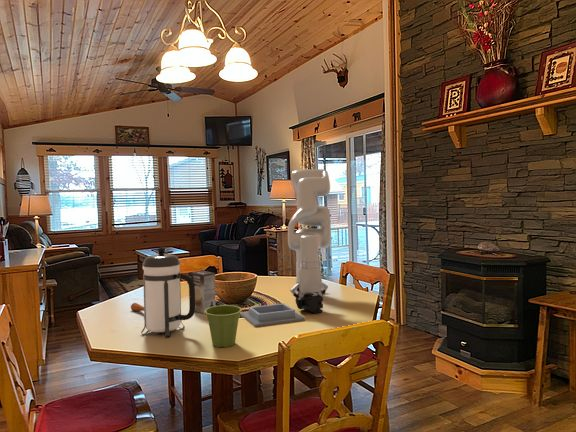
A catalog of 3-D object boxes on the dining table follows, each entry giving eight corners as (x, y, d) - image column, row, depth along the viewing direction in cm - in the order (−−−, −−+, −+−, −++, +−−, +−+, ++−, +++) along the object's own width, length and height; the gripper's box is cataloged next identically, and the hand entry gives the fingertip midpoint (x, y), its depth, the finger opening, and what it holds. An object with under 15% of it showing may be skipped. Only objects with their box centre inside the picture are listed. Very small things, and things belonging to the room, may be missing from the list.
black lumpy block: (295, 309, 181) (295, 293, 180) (308, 306, 185) (308, 290, 184) (310, 314, 172) (310, 298, 172) (324, 311, 177) (323, 295, 176)
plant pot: (198, 348, 137) (197, 312, 136) (217, 336, 148) (216, 303, 148) (231, 352, 133) (230, 316, 132) (248, 340, 144) (248, 306, 143)
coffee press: (143, 342, 143) (141, 251, 142) (139, 328, 158) (137, 246, 156) (196, 335, 150) (194, 248, 148) (187, 322, 165) (185, 243, 163)
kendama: (142, 299, 186) (164, 304, 172) (140, 313, 186) (162, 319, 171) (128, 299, 182) (150, 304, 168) (126, 313, 182) (148, 319, 167)
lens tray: (286, 309, 183) (286, 301, 182) (304, 320, 166) (304, 311, 166) (240, 314, 175) (240, 306, 175) (254, 327, 158) (254, 317, 158)
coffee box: (190, 310, 183) (190, 272, 182) (203, 307, 187) (202, 270, 187) (203, 314, 176) (203, 274, 176) (216, 311, 181) (215, 272, 180)
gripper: (323, 262, 184) (324, 302, 185) (285, 265, 177) (286, 307, 179) (332, 264, 177) (332, 307, 178) (293, 268, 171) (293, 312, 172)
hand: (309, 307), depth 179 cm, fingers closed on black lumpy block, 8 cm apart
